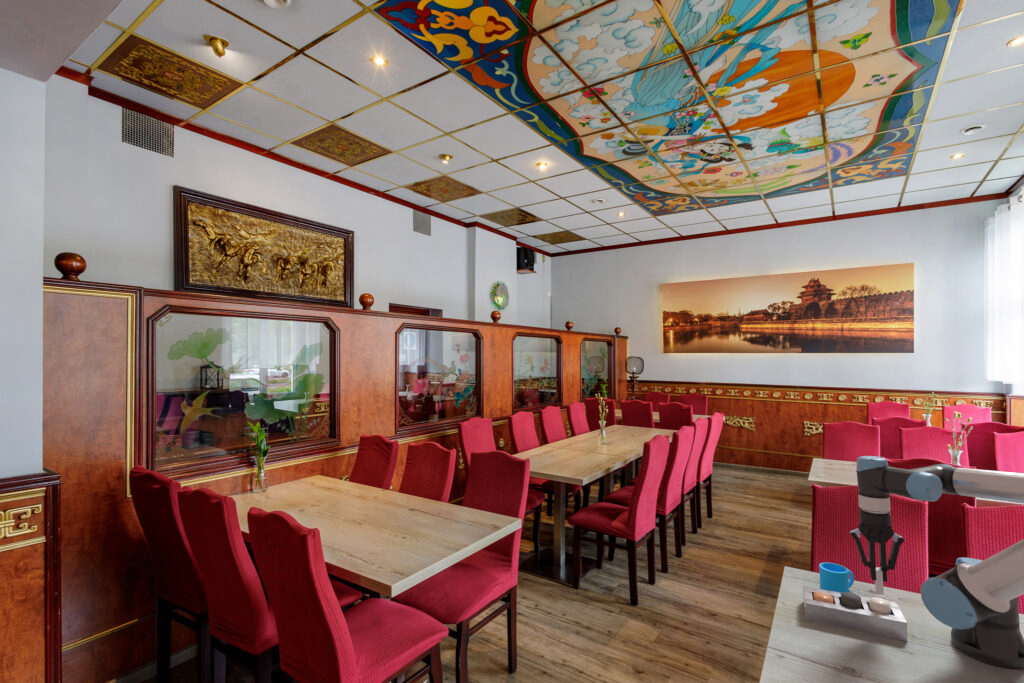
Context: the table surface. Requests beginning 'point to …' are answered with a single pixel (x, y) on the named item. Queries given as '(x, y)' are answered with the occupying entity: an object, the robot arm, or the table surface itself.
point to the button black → (850, 600)
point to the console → (854, 615)
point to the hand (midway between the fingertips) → (879, 591)
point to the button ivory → (879, 605)
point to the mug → (835, 577)
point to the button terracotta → (823, 597)
